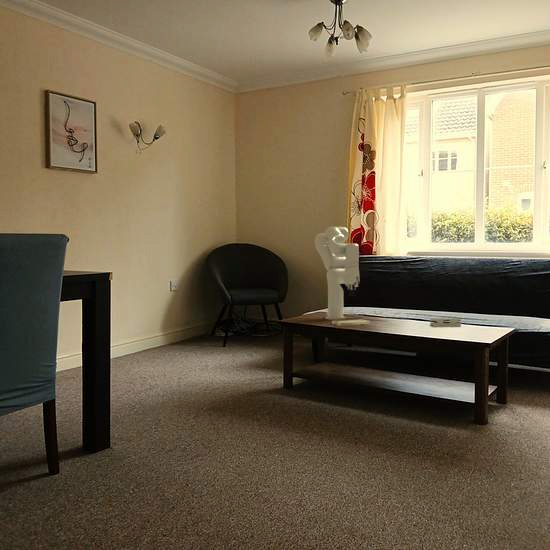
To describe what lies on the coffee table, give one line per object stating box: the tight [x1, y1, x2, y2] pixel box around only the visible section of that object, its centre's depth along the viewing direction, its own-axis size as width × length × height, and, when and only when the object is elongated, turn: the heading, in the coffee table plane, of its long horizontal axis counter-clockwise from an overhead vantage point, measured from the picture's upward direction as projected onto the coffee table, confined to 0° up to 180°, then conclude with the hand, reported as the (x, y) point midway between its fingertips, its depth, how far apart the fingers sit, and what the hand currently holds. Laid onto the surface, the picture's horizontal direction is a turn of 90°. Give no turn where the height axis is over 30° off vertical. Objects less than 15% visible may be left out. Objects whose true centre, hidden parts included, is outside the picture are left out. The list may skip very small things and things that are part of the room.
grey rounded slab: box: [429, 317, 462, 328], centre depth 321 cm, size 17×5×10 cm
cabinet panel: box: [331, 316, 372, 327], centre depth 326 cm, size 10×20×4 cm, turn 118°
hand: (351, 296), depth 325 cm, fingers closed
